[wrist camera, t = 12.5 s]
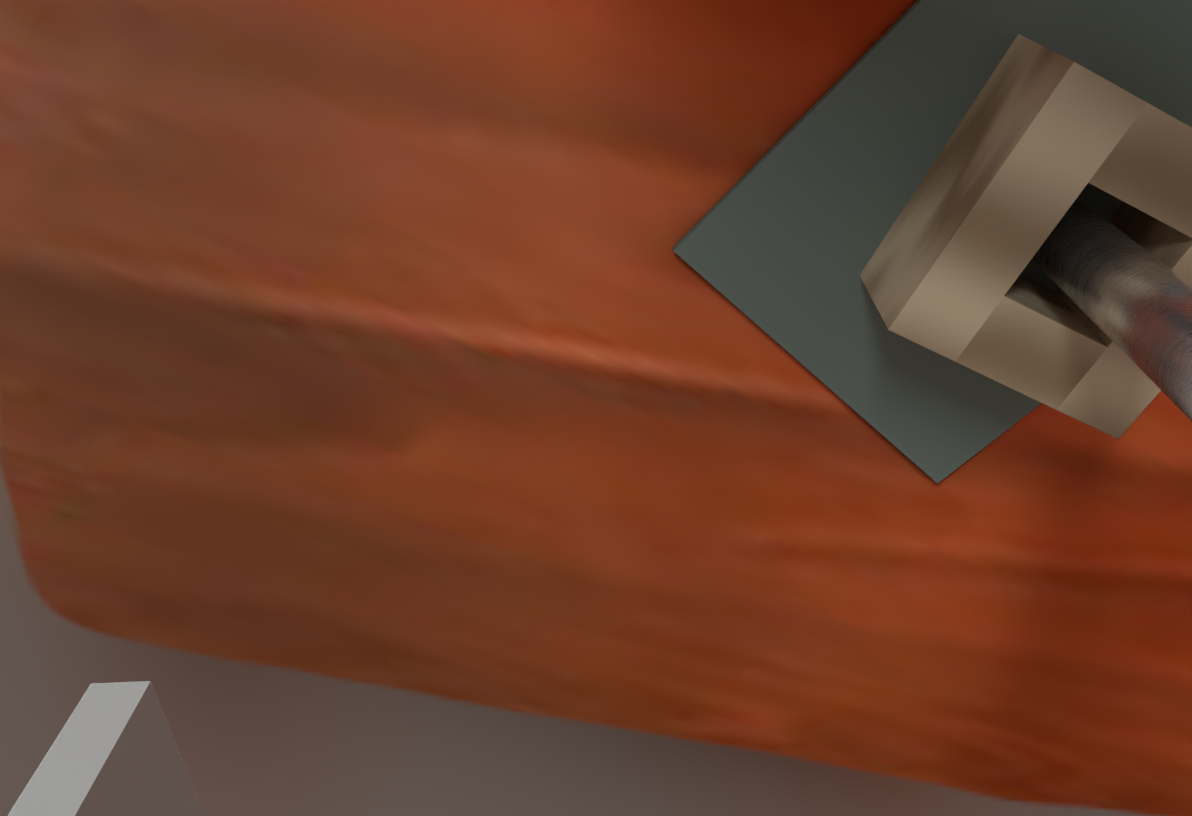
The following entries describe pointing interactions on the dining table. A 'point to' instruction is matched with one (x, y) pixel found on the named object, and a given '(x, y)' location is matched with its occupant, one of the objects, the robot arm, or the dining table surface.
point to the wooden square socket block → (1035, 232)
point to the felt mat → (885, 185)
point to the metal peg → (1125, 296)
